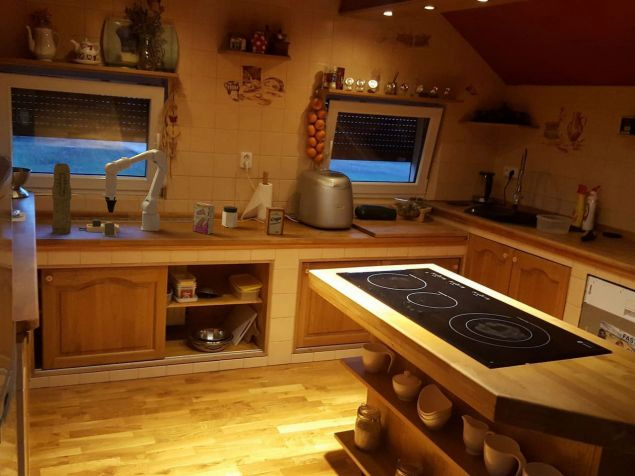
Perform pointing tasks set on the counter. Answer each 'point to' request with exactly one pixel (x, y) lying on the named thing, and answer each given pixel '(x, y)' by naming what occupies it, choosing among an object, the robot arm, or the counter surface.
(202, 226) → the candy bar box
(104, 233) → the mat
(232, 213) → the jar
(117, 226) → the power strip
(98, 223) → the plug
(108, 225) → the block
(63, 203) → the carved stone statue
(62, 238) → the counter surface
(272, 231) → the baking soda box
